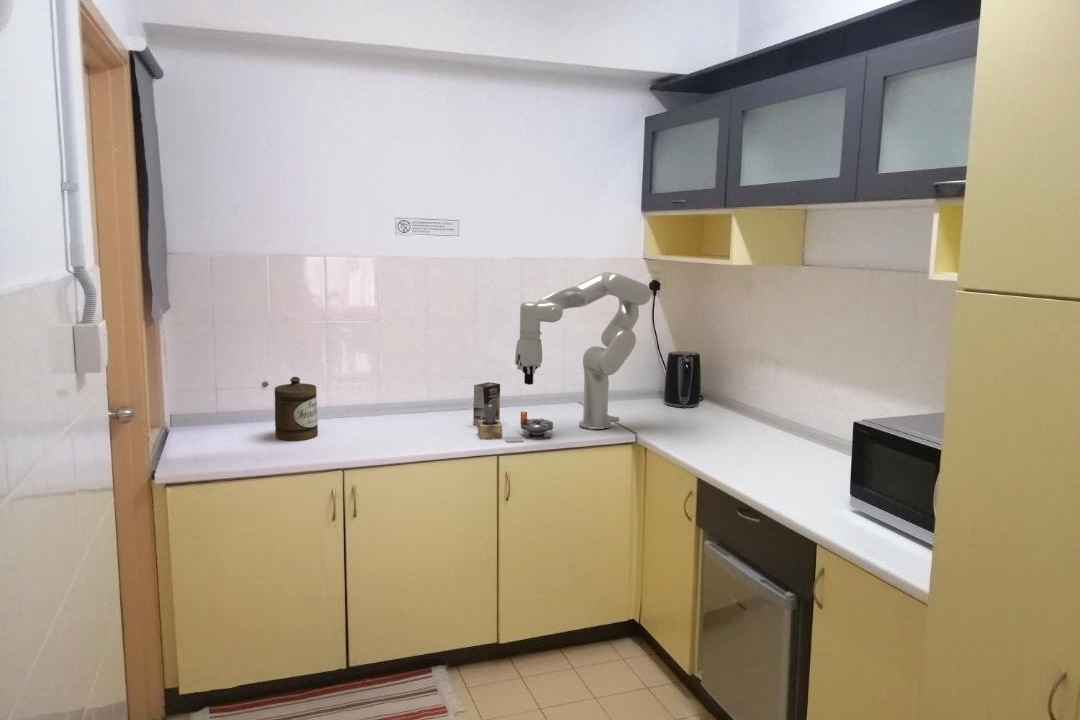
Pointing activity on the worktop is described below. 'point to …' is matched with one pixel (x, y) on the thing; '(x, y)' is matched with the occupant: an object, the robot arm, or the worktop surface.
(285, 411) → the wooden container
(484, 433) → the eye block
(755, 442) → the worktop surface
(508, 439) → the mat
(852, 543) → the worktop surface
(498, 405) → the coffee box
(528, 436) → the wheel pedestal
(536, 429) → the handwheel
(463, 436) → the worktop surface
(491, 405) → the dark grey rounded cylinder
